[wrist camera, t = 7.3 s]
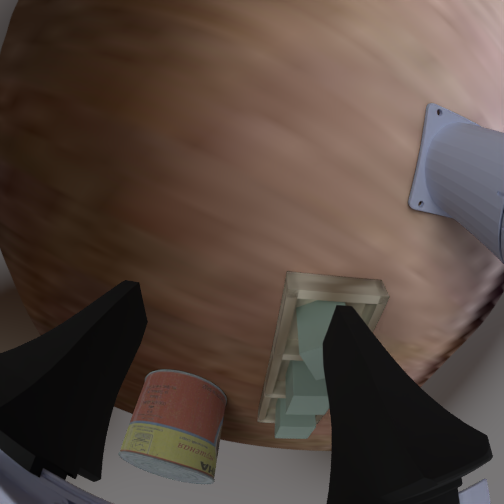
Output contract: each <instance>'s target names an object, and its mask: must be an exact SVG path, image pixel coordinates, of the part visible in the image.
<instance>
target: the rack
mask: <svg viewBox="0 0 504 504" xmlns="http://www.w3.org/2000/svg"><path fill="white" fill-rule="evenodd" d="M389 297H390V296H389V294H388V292H387V290H386V288H385V286H384V284H383V282H382V280H373V279H362V278H351V277H340V276H329V275H319V274H308V273H298V272H288V271H287V274H286V279H285V285H284V290H283V295H282V301H281V306H280V311H279V316H278V321H277V326H276V331H275V336H274V341H273V346H272V350H271V355H270V360H269V364H268V369H267V374H266V378H265V383H264V387H263V391H262V396H261V400H260V404H259V409H258V422H267V423H275V413H276V403H277V400H278V398H286V372H287V369H288V366H289V362H290V360H296V361H303V359H302V358H301V356H300V354H299V343H298V328H297V315H296V308H297V307H300V306H302V305H305V304H308V303H311V302H314V301H316V300H322V301H335V302H345V303H346V306H352V307H353V308H354V309H355V310H356V312H357V313H358V314H359V315H360V317H361V318H362V319H363V321H364V322H365V323H366V325H367V326H368V327H369V329H370V330H371V331H372V333H373V331H374V329H375V327H376V325H377V323H378V321H379V319H380V317H381V314H382V312H383V310H384V308H385V306H386V304H387V301H388V299H389ZM322 417H323V415H315V420H316V424H318V422H319V421H320V420H321V418H322Z"/></svg>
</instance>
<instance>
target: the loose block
mask: <svg viewBox="0 0 504 504" xmlns="http://www.w3.org/2000/svg"><path fill="white" fill-rule="evenodd" d="M336 305H344V306H346V303H345V302H335V301H322V300H316V301H314V302H311V303H308V304H305V305H302V306H300V307H297V308H296V315H297V328H298V343H299V354H300V356H301V358H302V359H303V361H304V362H305V364H306V365H307V367H308V369H309V370H310V372H311V373H312V375H313V376H314V378H315V380H320V379H323V378H325V375H324V368H323V340H324V338H325V335H326V332H327V330H328V327H329V324H330V322H331V319H332V316H333V313H334V310H335V308H336Z"/></svg>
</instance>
